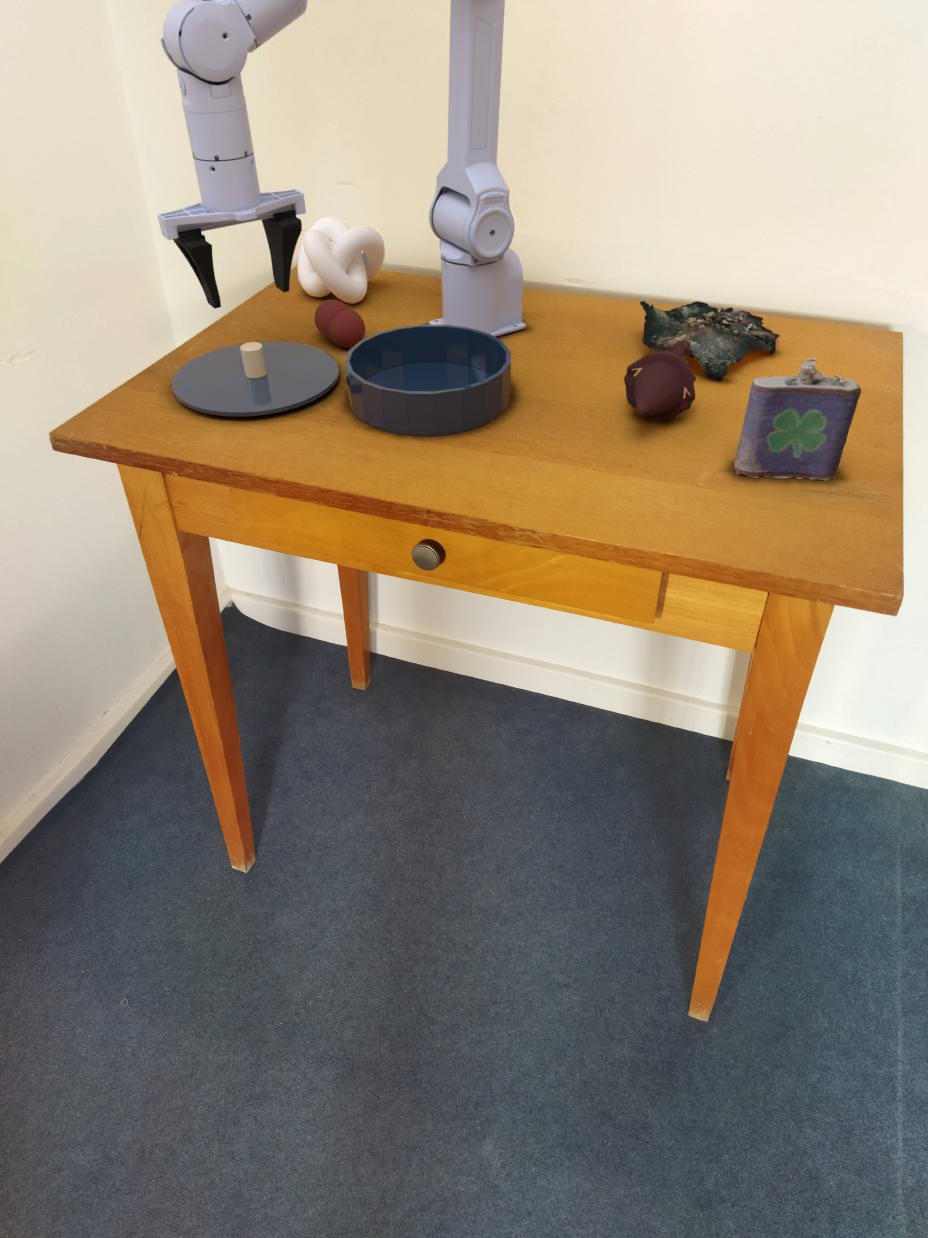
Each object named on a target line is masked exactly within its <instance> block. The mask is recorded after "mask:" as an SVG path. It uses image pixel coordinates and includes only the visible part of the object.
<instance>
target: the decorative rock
mask: <svg viewBox="0 0 928 1238" xmlns="http://www.w3.org/2000/svg"><path fill="white" fill-rule="evenodd" d="M639 304H640V305H641V307H642V310H644V312H645V315H643V316H644V320H645V321H643V336H642V339H641V340H642V344H643V345H645V346H646V347H648V349H650V350H655V351H656V350H657V351H660V352H661V351H666V350H667V351H669V350H670V348H671V347H672V346H673V345H674V344H675V343H676V342H677V341H681V340H686V341H689V342H690V344H691V347H690V351H689V353H688V354H689V358H692V359H695V360H696V361H697V362H698V363H699V365H700V366H701V368H702V370H703V372H704V374H705V376H706V378H707V380H715V381H719V382H722V381H723V379H724V376H726V374H727V373H728V371H729V369H730V368H731V366H732V365H733V364H735V363H737V364H739V363H741V362H742V361H743V360H744V357H745V356H747V355H748V354H749V352H750V353H751V352H753V351H761V352H762V351H764V350H765V351H767V352H769V354H771V355H773V354H775V352H776V350H777V347H776V346H777V342H776V341H777V340H778V338H780V334H778V333H775V332H773V331H772V330H771V329H769V328H767V327H765V326H763V325H764V322H763V320H764V318H763V317H761V316H758V315H754V314H752V313H751V312H750V311H746V310H735V309H734V308H733V307H728V308H725V309H724V308H723V307H721V308H718V307H716V306H715V307H714V306H710V305H709V304H708V303H707V302H703V301H699V300H696V301H693V302H692V303H688V304H685V305H681V306H678V307H675V308H672V309H670V310H662V309H660V308H656V307H654V304H653V303H651V304H649V303H648V302H646V300H642V301H639Z"/></svg>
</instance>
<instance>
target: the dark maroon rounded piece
mask: <svg viewBox="0 0 928 1238" xmlns="http://www.w3.org/2000/svg"><path fill="white" fill-rule="evenodd" d="M690 347H691V344H690V342H689V341H686V340H681V341H677V342H676V343H675V344H674V345H673V346H672V347H671V348H670V350H669V351H667V350H666V351H661V350H660V351H657V352H651V353H650V352H649V353H648V354H645V355H644V356H642V357H641V358H639V359H637V360H636V361H634V362H632V363H631V364H629V365H628V366H627V368H626V374H625V375H624V377H623V382H624V385H625V397H626V400H627V403H628V404H629V405H630V406H631V407H632V408H634V409H635V410H636V412H637V414H638V415H640V416H643V418H645V419H648V420H649V419H650V420H659V421H663V422H670V421H673V420H674V419H676V418H677V417H679V416H680V415H682V414H683V413H684V412H686V411H688V410H690V409H691V407H692V405H693V404H692V403H693V402H694V401H695V400H696V390H695V381H696V379H697V376H696V375H695V372H693V370H692V368H691V366H690V364H689V362H688V360H687V357H688V355H689V354H690V353H689V351H690Z"/></svg>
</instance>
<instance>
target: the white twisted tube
mask: <svg viewBox="0 0 928 1238" xmlns="http://www.w3.org/2000/svg"><path fill="white" fill-rule="evenodd" d="M332 242H333V243H332ZM385 257H386V247H385V241H384V239H383V236H382V235H381V234H380V233H379V232H378V230H377V229H376V228H374V227H372V226H369V225H368V226H367V225H356V226H353V227H351V226H350V225H349V224H348V223H347V222H346V221H344V220H343V219H342V218H339V217H337V216H325V217H322V218H320V219H318V220H317V221H315V223H313V224H312V225H311V227H310V228H309V229H308V230H307V231H306V232H305V234H304V235H303V238H302V241H301V246H300V249H299V251H298V257H297V268H296V269H297V277H298V282H299V284H300V286H301V288H302V289H303V290H304V291H305V293H306V294H307V295H309V296H310V297H315V298H322V297H326V296H328V295H330V294H331V293H332V294H333V295H334V296H335V297H336V298H337V299H339V300H341V302H345V303H348V304H357V303H360V302H361V301H363V299H364V298H365V296H366V294H367V291H368V282H371V280H373V279H374V277H376V276H377V274H378V273H379V271H380V270H381V267H382V266H383V264H384V261H385V259H386V258H385Z"/></svg>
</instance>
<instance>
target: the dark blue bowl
mask: <svg viewBox="0 0 928 1238" xmlns="http://www.w3.org/2000/svg"><path fill="white" fill-rule="evenodd" d="M344 369H345V379H346V387H347V396H348V401H349V406H350V408H351V411H352V412H353V413H354V415H355V417H357V418H358V420H360V421H362V422H363V423H365V424H367V425H369V426H371V427H373V428H376V429H378V430H381V431H384V432H388V433H393V434H399V435H404V436H405V435H406V436H416V437H417V436H418V437H430V436H431V437H432V436H444V435H445V436H446V435H453V434H459V433H462V432H467V431H470V430H474V429H477V428H480V427H482V426H485V425H487V424H489V423H491V422H493V421H494V420H495V419H497V418H498V417H500V416H501V415H502V414H503V413H504V412H505V410H507V408H508V406H509V404H510V400H511V376H512V375H511V374H512V373H511V372H512V371H511V370H512V352H511V349H509V347H508V346H507V344H506V343H505V342H504V341H503V340H502V339H499V338H498V337H497V336H496V337H494V336H492V335H491V334H489V333H486V332H482V331H479V330H476V329H472V328H468V327H460V326H453V325H429V324H417V325H416V324H415V325H408V326H399V327H394V328H391V329H387V330H383V331H380V332H376V333H374V334H371V335H370V336H367V337H366V338H363V339H362V340H361V341H359V342H358V343H357V344H356V345H355V346H354V347H351V348H349V350H348V352H347V354H346V357H345V359H344Z"/></svg>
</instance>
